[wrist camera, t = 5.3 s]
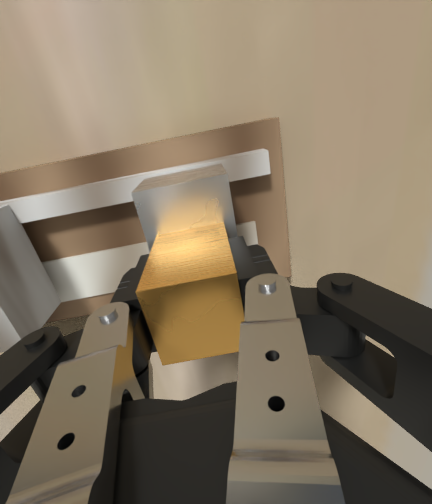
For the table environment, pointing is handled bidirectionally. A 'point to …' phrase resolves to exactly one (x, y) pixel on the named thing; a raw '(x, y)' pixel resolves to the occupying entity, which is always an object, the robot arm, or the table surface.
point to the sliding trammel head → (189, 264)
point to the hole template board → (120, 219)
